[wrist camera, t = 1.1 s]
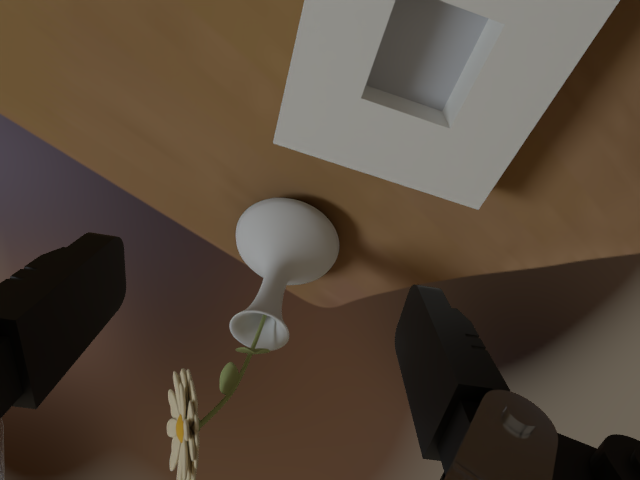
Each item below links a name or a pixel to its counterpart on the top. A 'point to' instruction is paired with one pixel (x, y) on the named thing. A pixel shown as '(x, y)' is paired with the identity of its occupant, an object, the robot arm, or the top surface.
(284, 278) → the flower in vase
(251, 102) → the top surface
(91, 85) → the top surface
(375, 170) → the socket
